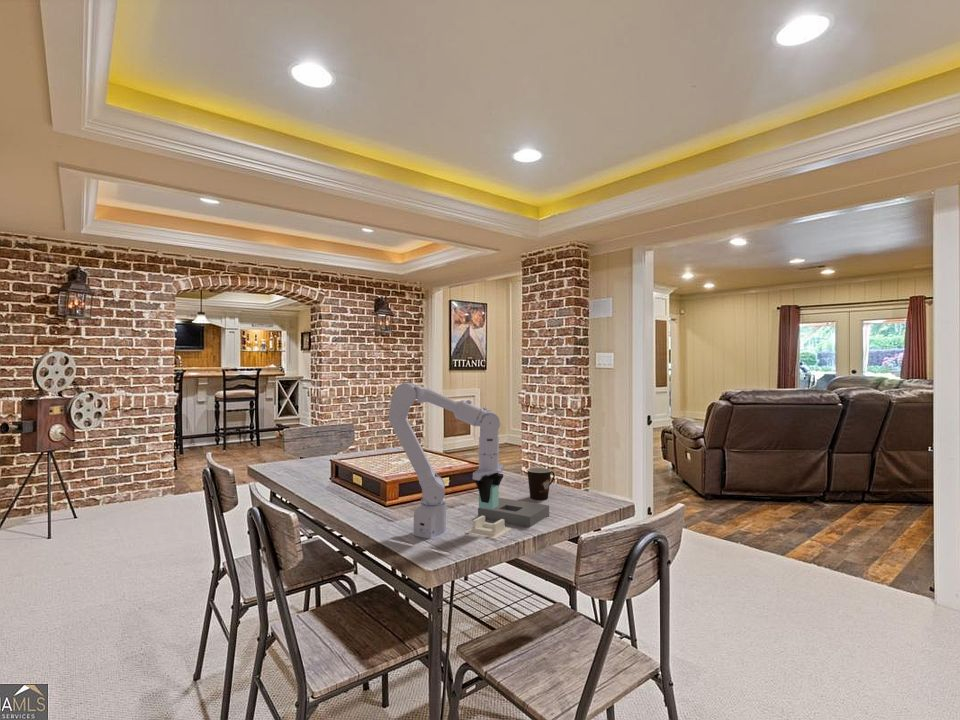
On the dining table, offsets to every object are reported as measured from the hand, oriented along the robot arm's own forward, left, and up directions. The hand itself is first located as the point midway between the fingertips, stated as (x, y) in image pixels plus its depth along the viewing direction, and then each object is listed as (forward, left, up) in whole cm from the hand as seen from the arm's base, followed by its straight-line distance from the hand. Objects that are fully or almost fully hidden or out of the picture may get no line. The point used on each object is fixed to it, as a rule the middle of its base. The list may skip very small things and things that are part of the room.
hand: (488, 500), depth 150 cm
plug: (0, 0, -2) cm, 2 cm away
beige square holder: (0, 0, -9) cm, 9 cm away
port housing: (+16, 0, -9) cm, 18 cm away
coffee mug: (+43, +2, -9) cm, 44 cm away
